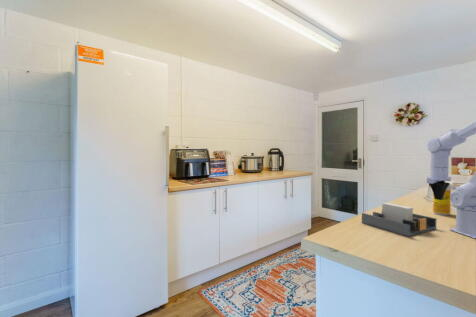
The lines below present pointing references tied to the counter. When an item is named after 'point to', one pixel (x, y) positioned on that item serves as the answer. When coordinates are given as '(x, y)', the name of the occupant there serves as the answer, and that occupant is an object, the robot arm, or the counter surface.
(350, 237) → the counter surface
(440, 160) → the robot arm
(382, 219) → the rack
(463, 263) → the counter surface
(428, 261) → the counter surface
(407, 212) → the white rectangular block
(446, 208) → the beer can
